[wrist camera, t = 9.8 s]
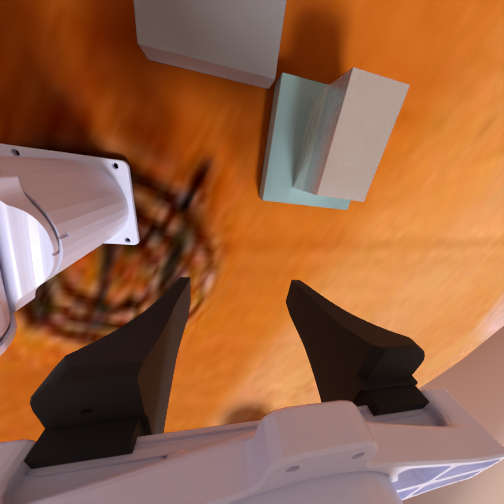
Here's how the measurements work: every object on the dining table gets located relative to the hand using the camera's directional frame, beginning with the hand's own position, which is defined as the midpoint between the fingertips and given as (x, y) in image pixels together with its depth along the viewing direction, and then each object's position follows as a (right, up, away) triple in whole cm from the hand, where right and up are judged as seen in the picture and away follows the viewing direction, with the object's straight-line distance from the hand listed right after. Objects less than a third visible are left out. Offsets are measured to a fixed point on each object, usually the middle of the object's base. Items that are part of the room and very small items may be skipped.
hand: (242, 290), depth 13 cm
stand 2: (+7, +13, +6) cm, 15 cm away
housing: (+7, +12, +4) cm, 14 cm away
